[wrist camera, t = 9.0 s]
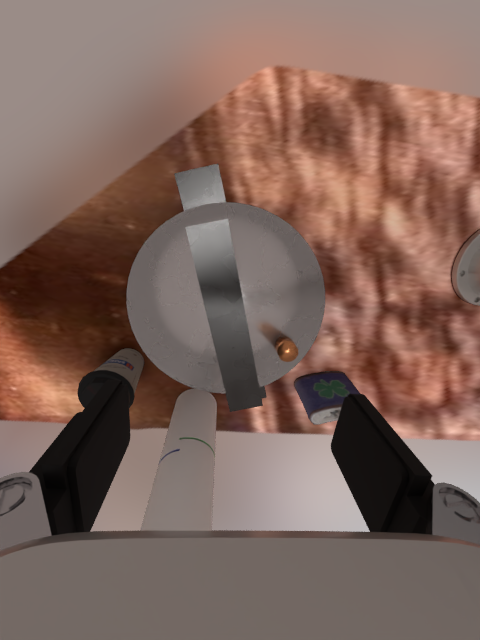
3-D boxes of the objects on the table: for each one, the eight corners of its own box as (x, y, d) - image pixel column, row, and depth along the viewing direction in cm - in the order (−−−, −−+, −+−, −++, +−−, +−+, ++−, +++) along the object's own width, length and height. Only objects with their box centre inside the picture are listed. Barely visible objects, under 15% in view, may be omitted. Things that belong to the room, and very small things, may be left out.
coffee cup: (150, 382, 42) (129, 426, 33) (106, 377, 42) (72, 420, 32) (153, 344, 40) (131, 380, 31) (107, 338, 39) (70, 372, 30)
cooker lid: (101, 226, 23) (61, 225, 17) (312, 184, 23) (342, 169, 17) (162, 400, 29) (148, 441, 24) (326, 369, 29) (351, 403, 24)
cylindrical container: (168, 397, 44) (102, 596, 20) (205, 382, 43) (184, 568, 19) (187, 427, 46) (148, 636, 22) (223, 413, 45) (222, 612, 22)
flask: (293, 389, 45) (314, 436, 34) (293, 374, 44) (314, 418, 33) (345, 383, 45) (381, 427, 35) (346, 368, 44) (383, 410, 34)
